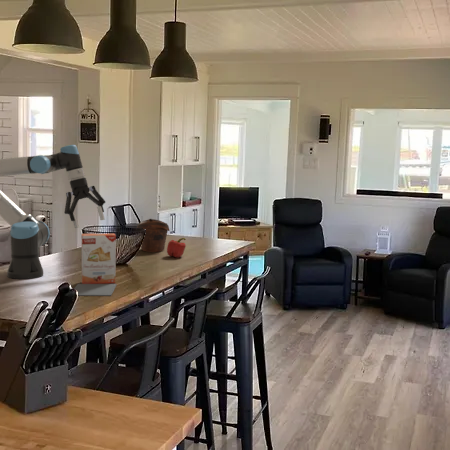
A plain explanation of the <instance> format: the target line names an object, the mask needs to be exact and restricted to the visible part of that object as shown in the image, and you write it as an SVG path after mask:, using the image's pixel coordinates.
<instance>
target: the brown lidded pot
mask: <svg viewBox="0 0 450 450" xmlns="http://www.w3.org/2000/svg"><path fill="white" fill-rule="evenodd" d="M137 228H143V229H146V234H145V237H144V240H143V243H142V246H141V245H140V247H141V251H142V252H148V253H156V252H157V253H159V252H163V251H164V250H165V247H166V242H167V236H168V232H170V227H169V225H168V223H166V222H164V221H162V220H159V219H153V218H148V219H146V220H143V221H141V222H139V223H138V224H137V226H136V229H137Z"/></svg>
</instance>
